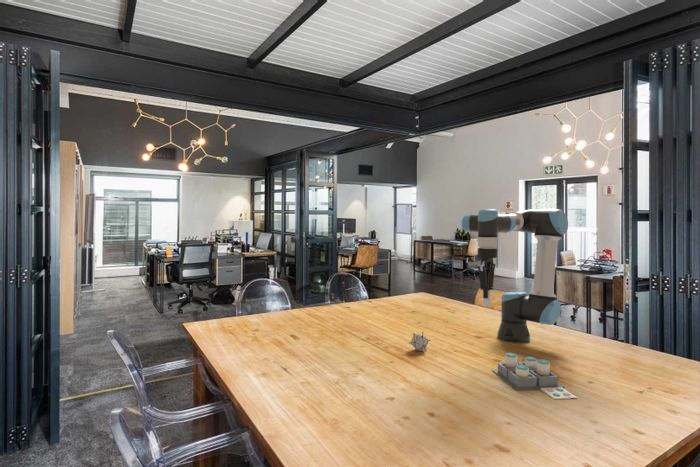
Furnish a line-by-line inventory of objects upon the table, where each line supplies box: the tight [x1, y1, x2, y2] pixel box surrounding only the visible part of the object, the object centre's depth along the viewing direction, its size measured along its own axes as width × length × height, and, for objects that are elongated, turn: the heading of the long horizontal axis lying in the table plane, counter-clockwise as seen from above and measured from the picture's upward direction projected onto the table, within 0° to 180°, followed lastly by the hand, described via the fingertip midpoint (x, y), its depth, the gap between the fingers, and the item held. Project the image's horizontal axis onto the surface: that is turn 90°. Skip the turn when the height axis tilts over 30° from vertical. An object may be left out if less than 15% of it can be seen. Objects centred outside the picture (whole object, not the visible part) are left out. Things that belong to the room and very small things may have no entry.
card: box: [539, 387, 578, 400], centre depth 137 cm, size 8×8×1 cm
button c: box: [536, 358, 551, 376], centre depth 145 cm, size 4×4×5 cm
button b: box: [504, 352, 518, 369], centre depth 153 cm, size 4×4×5 cm
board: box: [492, 361, 566, 391], centre depth 149 cm, size 18×18×4 cm
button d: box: [524, 356, 538, 368], centre depth 153 cm, size 4×4×5 cm
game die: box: [408, 331, 431, 353], centre depth 181 cm, size 9×8×10 cm
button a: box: [516, 365, 529, 377], centre depth 145 cm, size 4×4×5 cm
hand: (486, 305), depth 162 cm, fingers closed
